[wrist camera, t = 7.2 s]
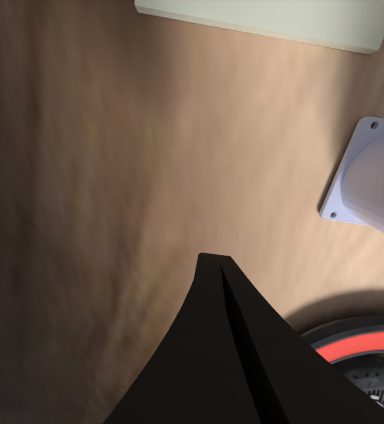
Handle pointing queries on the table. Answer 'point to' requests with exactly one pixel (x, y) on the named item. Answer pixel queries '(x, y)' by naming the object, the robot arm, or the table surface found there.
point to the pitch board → (285, 19)
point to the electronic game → (353, 350)
